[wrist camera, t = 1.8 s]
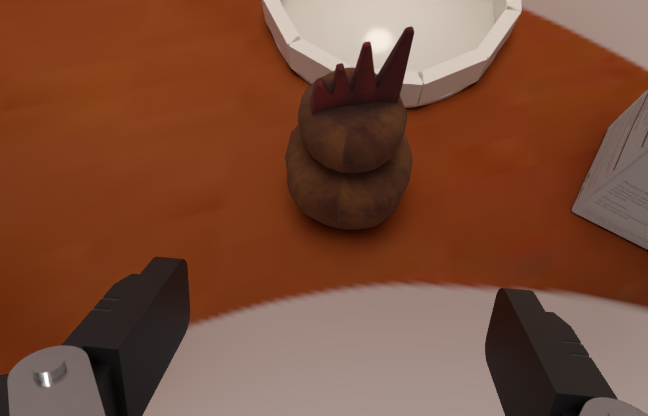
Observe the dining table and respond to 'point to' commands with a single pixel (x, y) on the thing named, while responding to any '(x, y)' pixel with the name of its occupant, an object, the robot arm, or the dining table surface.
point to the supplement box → (620, 178)
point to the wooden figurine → (352, 142)
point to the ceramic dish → (395, 38)
